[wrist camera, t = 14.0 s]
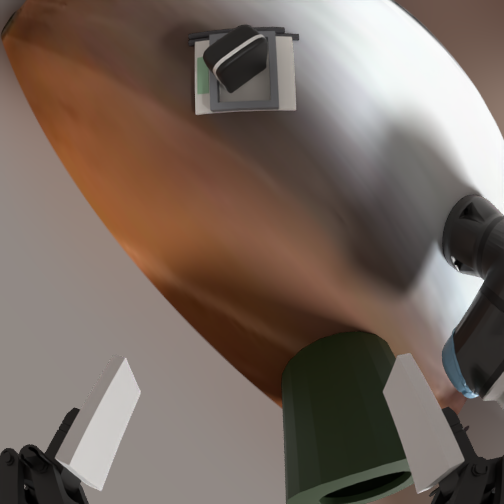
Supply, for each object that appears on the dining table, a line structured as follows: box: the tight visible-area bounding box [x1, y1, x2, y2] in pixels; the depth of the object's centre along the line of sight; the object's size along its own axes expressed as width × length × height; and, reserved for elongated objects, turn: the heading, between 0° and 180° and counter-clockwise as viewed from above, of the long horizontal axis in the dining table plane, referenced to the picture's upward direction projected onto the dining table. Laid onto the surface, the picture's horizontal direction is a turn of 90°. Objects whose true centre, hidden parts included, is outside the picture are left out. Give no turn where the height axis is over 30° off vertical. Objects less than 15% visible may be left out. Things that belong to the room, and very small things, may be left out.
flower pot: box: [281, 331, 414, 504], centre depth 38 cm, size 25×25×28 cm
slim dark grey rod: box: [188, 27, 299, 46], centre depth 29 cm, size 16×2×1 cm, turn 92°
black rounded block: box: [203, 25, 268, 93], centre depth 26 cm, size 7×4×11 cm, turn 129°
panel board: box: [195, 31, 296, 115], centre depth 31 cm, size 14×12×3 cm
